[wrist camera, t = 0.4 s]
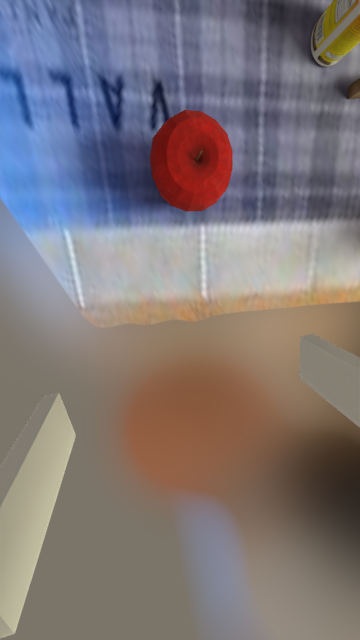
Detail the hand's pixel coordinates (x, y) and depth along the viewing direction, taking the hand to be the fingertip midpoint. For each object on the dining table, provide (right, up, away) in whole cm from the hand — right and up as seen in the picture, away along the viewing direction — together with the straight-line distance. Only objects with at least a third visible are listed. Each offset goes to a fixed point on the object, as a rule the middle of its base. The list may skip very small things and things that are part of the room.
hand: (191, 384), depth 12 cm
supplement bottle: (+20, +42, +19) cm, 50 cm away
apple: (0, +24, +21) cm, 32 cm away
